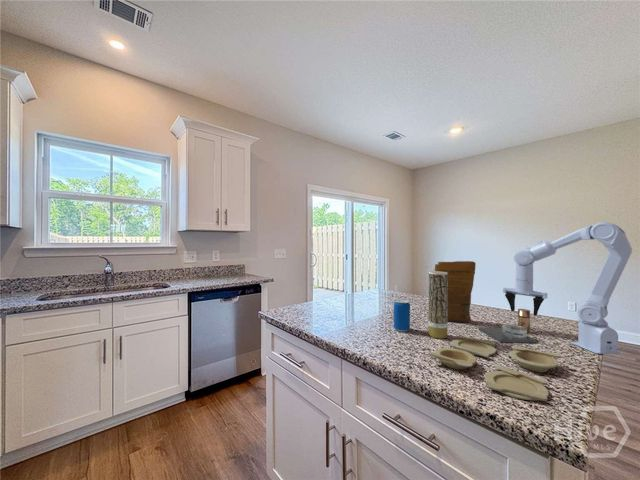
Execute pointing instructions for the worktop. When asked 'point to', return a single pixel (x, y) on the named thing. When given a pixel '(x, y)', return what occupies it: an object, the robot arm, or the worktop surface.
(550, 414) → the worktop surface
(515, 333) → the collar stand
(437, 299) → the grey patterned cylinder
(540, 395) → the tableware set
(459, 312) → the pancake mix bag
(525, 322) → the brown banded cylinder
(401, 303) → the beverage can
